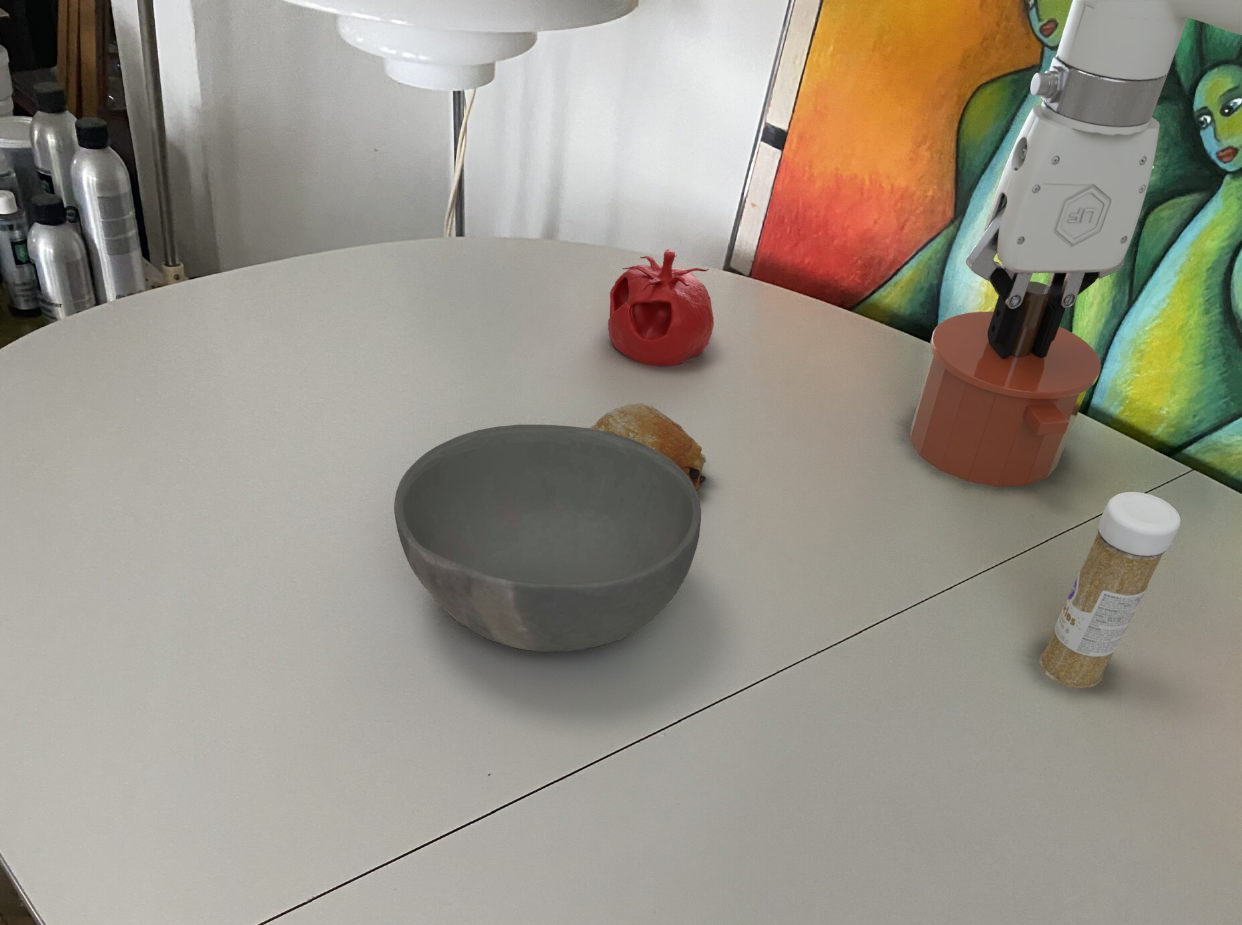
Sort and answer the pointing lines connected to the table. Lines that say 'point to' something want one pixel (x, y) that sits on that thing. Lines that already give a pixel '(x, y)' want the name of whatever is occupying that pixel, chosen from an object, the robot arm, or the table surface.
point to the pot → (989, 431)
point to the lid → (1016, 354)
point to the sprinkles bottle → (1109, 587)
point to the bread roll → (656, 436)
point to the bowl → (548, 533)
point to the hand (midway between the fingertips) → (1016, 348)
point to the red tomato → (660, 313)
